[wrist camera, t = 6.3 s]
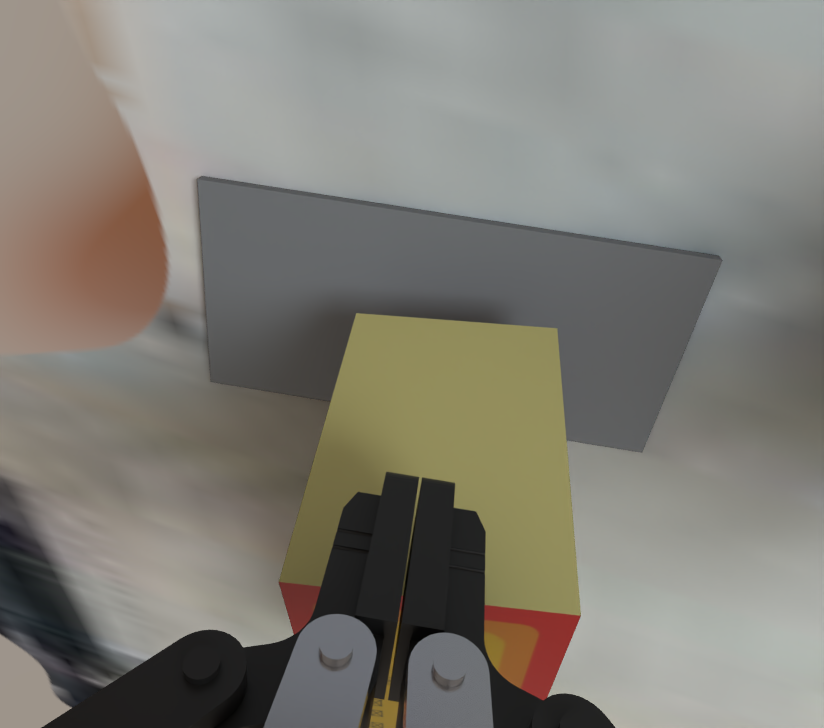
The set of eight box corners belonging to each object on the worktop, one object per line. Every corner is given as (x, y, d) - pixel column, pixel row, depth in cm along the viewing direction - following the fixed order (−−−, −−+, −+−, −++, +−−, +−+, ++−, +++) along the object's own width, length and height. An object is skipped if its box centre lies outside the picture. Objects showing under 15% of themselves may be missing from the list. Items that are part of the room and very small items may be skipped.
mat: (202, 176, 22) (197, 179, 22) (718, 255, 21) (722, 260, 21) (214, 376, 26) (210, 382, 26) (640, 446, 26) (642, 452, 26)
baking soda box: (278, 581, 14) (336, 781, 25) (581, 616, 13) (503, 804, 24) (356, 312, 21) (374, 562, 32) (557, 328, 20) (504, 576, 31)
